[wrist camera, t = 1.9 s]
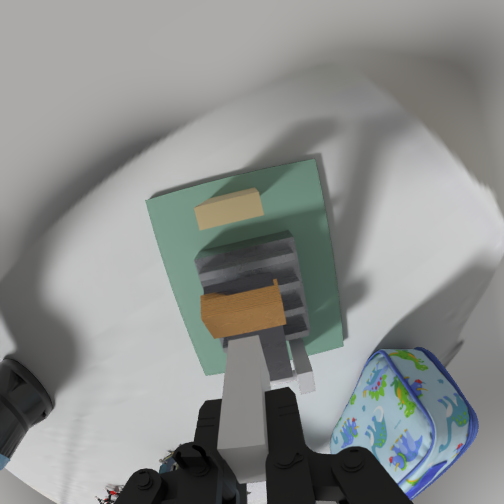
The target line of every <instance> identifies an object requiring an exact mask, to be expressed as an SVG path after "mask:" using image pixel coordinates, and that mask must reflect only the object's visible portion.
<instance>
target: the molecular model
mask: <svg viewBox="0 0 504 504" xmlns="http://www.w3.org/2000/svg"><path fill="white" fill-rule="evenodd" d="M119 489H120V493H121V491H122V487H119ZM104 490H106V491H107V492H108V494H109V497H108V496H105V498H106V499H105V500H102V499H101V500H100V499H99V498H98V497H97V496H95V499H97V500H98V501H99V502H100V504H104V502H107V503H106V504H114V502H115V501H113V500H111V495H114V494H115V495H119V494H120V493H117V492H116V491H109V490H108V489H106V488H104ZM117 498H118V497H117Z"/></svg>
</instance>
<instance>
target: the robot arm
mask: <svg viewBox="0 0 504 504" xmlns="http://www.w3.org/2000/svg"><path fill="white" fill-rule="evenodd" d="M51 410H52V404H51V401H50V398H49V396H48V394H47V393H46V391H45V389H44V388H43V387H42V385H41V384H40V383H39V381H38V380H37V379H36V378H35V377H34V376H33V375H32V374H31V373H30V372H29V371H28V370H27V369H26V368H25V367H23V366H22V365H21V364H19V363H18V362H16V361H14V360H12V359H4V360H3V361H2V362H1V363H0V470H2V469H3V468H4V467H5V466H6V464H7V463H8V462H9V461H10V458H11V457H12V455H13V453H14V452H15V450H16V449H17V447H18V445H19V444H20V442H21V441H22V439H23V437H24V436H25V434H26V433H27V431H28V430H29V429H30V428H31V427H33V426H34V425H36V424H37V423H39V422H41V421H42V420H44V419H46V418H47V417H48V415H49V414H50V412H51ZM172 458H173V459H174V460H175V462H176V463H177V464H178V465H179V466H180V468H179V469H177V470H174V471H169V472H165V473H161V474H159V473H158V472H157V471H155V470H153V469H147V468H145V469H140V470H138V471H136V472H134V473H133V475H132V476H131V477H130V478H129V480H128V481H127V483H126V485H125V486H124V488H123V490H122V491H121V493H120V494H119V496H118V498H117V499H116V501H115V502H114V504H240V495H239V491H238V490H237V489H236V479H237V480H238V482H239V483H240V484H242V483H253V482H262V481H266V489H267V504H316V500H317V501H336V503H337V504H413V502H412V501H411V500H410V499H409V498H408V496H407V495H406V494H405V493H404V492H403V490H402V489H401V488H400V487H399V485H398V484H397V483H396V482H395V481H394V479H393V478H392V477H391V476H390V474H389V473H388V472H387V471H386V470H385V468H384V467H383V466H382V465H381V463H380V462H379V461H378V460H377V458H376V457H375V456H374V455H373V453H372V452H371V451H369V450H368V449H367V448H364V447H361V446H351V447H348V448H345V449H343V450H341V451H340V452H338V453H337V454H321V453H316V452H314V451H312V450H310V449H309V448H308V447H307V446H306V444H305V440H304V435H303V430H302V425H301V419H300V414H299V410H298V405H297V400H296V396H295V393H294V392H293V391H292V390H291V389H290V388H289V387H285V388H280V389H275V390H271V386H270V376H269V372H268V368H267V365H266V361H265V357H264V354H263V350H262V347H261V343H260V339H259V335H256V336H251V337H246V338H240V339H235V340H230V341H228V350H227V359H226V368H225V377H224V386H223V396H222V399H216V400H207V401H205V402H204V404H203V405H202V407H201V408H200V410H199V415H198V421H197V428H196V432H195V437H194V442H189V443H185V444H183V445H181V446H179V447H178V448H177V449H176V450H175V451H174V452H173V454H172Z"/></svg>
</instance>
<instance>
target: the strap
mask: <svg viewBox="0 0 504 504" xmlns="http://www.w3.org/2000/svg"><path fill="white" fill-rule="evenodd" d="M203 289H204V295H201V296H200V302H201V320H202V321H203V323H204V325H205V326H206V328H207V329H208V331H209V332H210V333H211V335H212V336H213V338H214V339H217V338H222V337H226V339H227V341H230V340H235V339H240V338H246V337H251V336H256V335H259V339H260V343H261V347H262V350H263V354H264V357H265V361H266V365H267V368H268V372H269V376H270V381H275V380H280V379H285V378H289V377H293V373H292V368H291V363H290V358H289V353H288V348H287V343H286V339H285V334H284V329H283V325H285V324H286V319H285V314H284V308H283V303H282V299H281V295H280V291H279V287H278V283H277V279H273V277H272V273H271V272H267V273H262V274H258V275H254V276H249V277H245V278H240V279H236V280H232V281H227V282H222V283H218V284H213V285H209V286H204V287H203Z"/></svg>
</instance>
